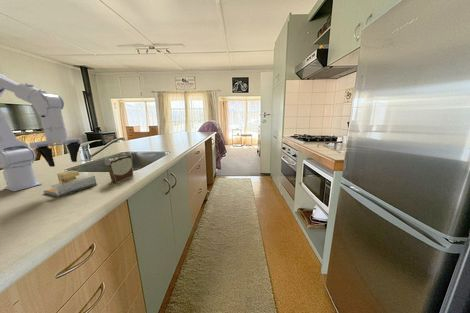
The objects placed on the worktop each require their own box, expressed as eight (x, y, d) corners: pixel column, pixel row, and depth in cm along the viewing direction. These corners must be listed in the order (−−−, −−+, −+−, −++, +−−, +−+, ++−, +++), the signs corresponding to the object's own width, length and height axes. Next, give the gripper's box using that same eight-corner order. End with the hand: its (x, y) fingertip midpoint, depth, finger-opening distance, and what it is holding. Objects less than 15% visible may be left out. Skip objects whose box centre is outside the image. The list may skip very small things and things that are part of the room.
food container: (124, 174, 86) (120, 153, 83) (135, 174, 84) (132, 153, 82) (100, 183, 74) (95, 160, 72) (113, 184, 73) (108, 160, 70)
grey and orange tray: (44, 193, 66) (41, 183, 65) (81, 182, 77) (79, 173, 76) (59, 197, 62) (56, 186, 61) (96, 184, 73) (94, 175, 72)
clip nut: (60, 186, 70) (57, 173, 69) (74, 182, 74) (71, 170, 73) (67, 187, 68) (64, 175, 67) (81, 183, 72) (78, 171, 71)
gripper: (32, 129, 58) (43, 170, 61) (83, 126, 71) (91, 160, 74) (22, 129, 61) (33, 168, 64) (73, 126, 74) (80, 159, 77)
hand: (63, 164), depth 69 cm, fingers open, 6 cm apart
